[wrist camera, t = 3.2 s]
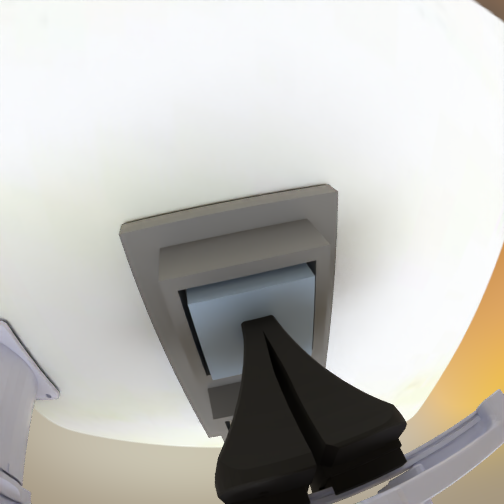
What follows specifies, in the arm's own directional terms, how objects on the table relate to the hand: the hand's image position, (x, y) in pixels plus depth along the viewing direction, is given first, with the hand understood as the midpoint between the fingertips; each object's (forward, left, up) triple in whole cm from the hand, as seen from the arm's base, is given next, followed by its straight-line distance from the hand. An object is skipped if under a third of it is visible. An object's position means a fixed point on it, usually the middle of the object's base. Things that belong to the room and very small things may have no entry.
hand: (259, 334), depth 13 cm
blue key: (0, 0, -2) cm, 2 cm away
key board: (0, -6, -4) cm, 7 cm away
